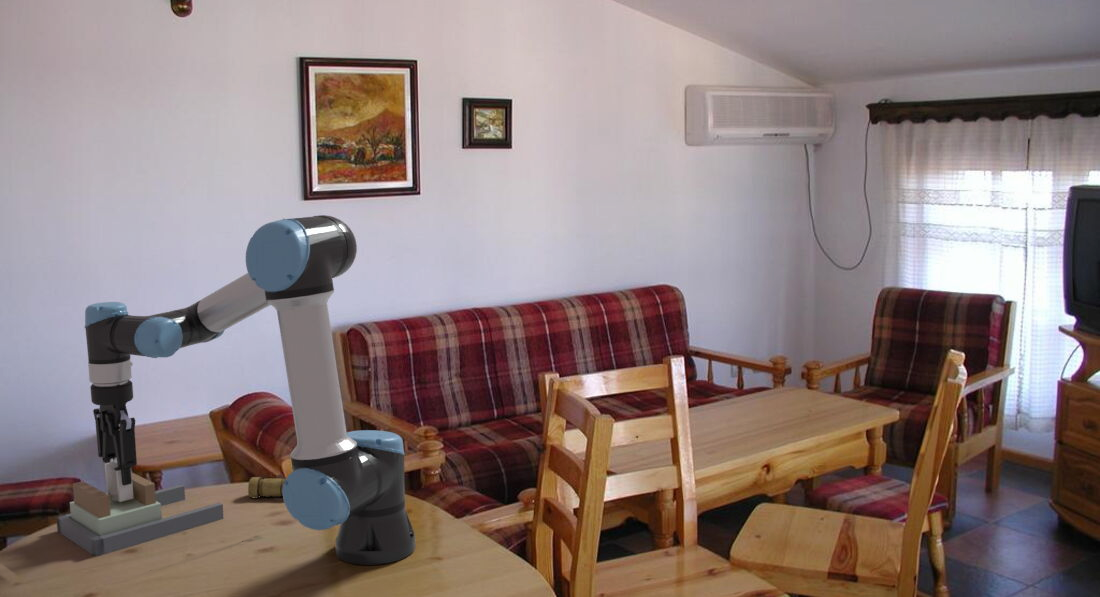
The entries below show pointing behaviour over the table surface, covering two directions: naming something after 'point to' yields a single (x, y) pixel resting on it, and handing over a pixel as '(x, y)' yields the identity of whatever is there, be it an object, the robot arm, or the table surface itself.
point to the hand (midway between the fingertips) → (120, 496)
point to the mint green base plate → (114, 507)
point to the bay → (140, 532)
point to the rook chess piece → (113, 481)
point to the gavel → (266, 486)
